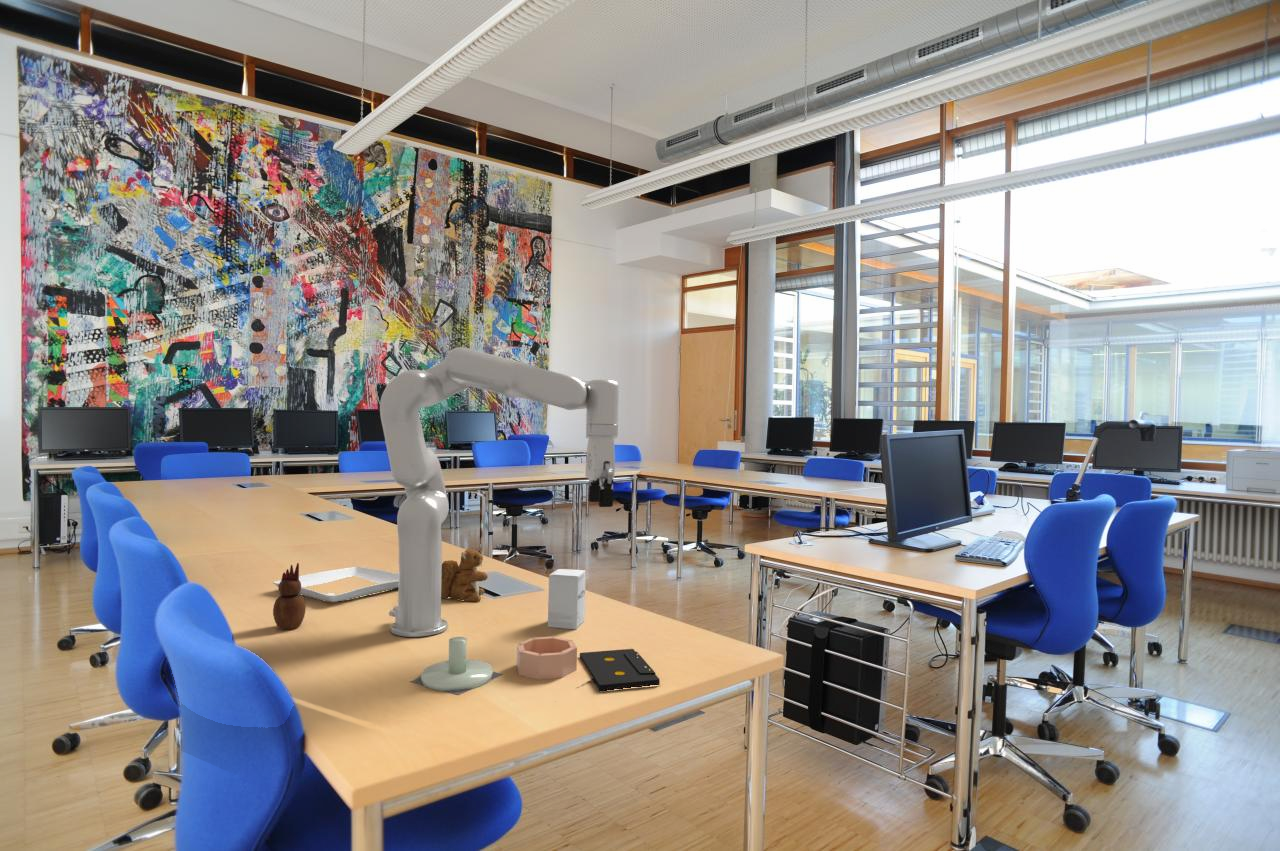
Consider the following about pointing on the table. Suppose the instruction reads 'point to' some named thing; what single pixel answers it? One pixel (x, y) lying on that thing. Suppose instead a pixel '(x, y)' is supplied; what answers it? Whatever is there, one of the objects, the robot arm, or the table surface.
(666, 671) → the table surface
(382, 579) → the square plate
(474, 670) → the lid
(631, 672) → the cassette tape
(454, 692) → the mat
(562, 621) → the supplement box
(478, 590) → the stuffed squirrel
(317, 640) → the table surface
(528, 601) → the table surface
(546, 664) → the bowl
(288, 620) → the wooden figurine
